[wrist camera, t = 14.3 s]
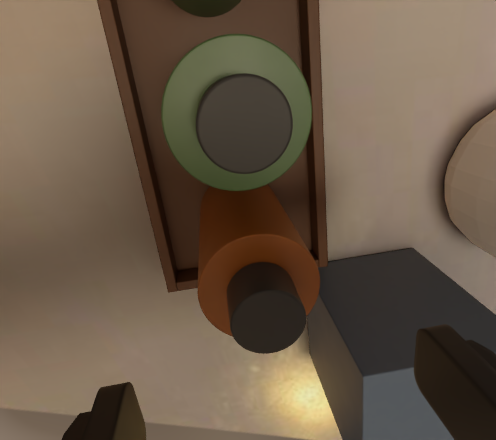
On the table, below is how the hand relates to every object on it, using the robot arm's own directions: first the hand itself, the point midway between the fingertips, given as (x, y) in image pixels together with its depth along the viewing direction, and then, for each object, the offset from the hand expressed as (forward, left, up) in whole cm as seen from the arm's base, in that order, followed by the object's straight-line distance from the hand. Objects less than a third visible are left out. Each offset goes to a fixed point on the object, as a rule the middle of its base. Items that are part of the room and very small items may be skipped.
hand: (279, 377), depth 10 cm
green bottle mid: (0, +7, -13) cm, 15 cm away
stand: (+8, -9, -14) cm, 18 cm away
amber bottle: (0, 0, -13) cm, 13 cm away
